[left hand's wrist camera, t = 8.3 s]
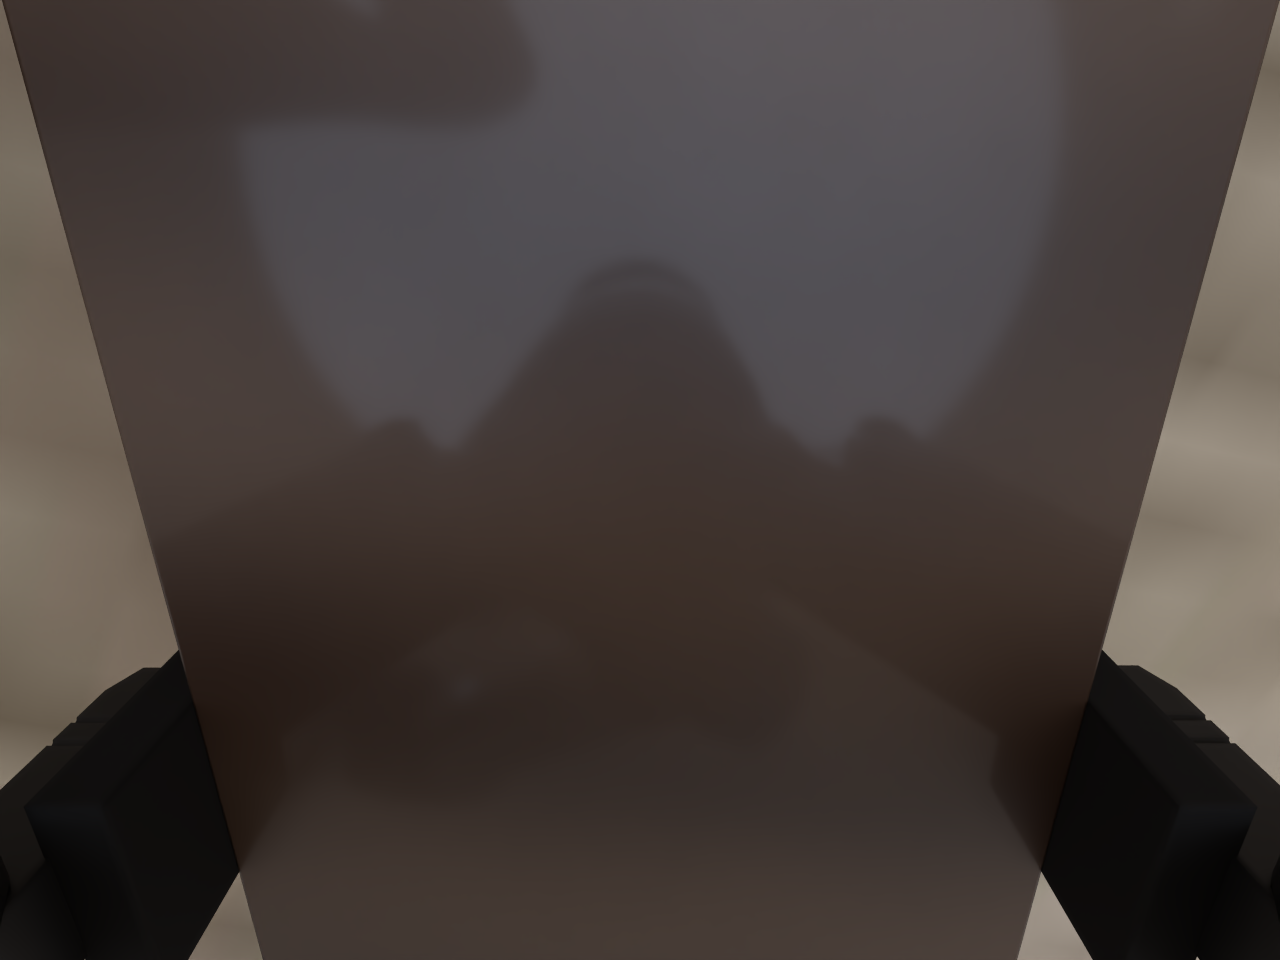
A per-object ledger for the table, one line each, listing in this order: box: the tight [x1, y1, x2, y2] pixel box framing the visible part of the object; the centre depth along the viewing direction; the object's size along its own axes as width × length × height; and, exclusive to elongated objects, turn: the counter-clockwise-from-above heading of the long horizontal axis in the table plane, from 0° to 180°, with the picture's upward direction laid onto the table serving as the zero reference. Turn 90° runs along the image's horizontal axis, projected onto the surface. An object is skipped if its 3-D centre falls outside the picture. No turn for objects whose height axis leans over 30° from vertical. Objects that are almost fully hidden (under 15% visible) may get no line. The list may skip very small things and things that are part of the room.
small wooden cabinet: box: [2, 0, 1279, 960], centre depth 12 cm, size 20×10×12 cm, turn 0°
